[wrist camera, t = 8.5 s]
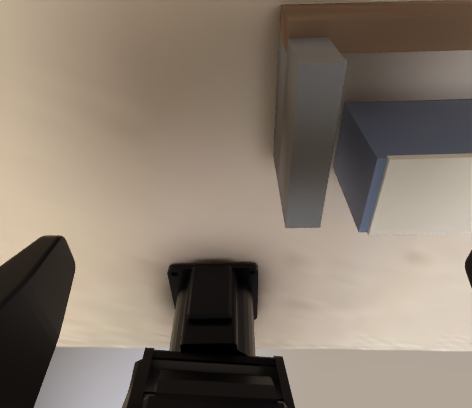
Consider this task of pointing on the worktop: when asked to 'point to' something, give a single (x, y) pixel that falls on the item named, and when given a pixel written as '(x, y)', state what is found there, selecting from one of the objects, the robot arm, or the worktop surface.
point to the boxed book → (407, 166)
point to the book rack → (340, 80)
